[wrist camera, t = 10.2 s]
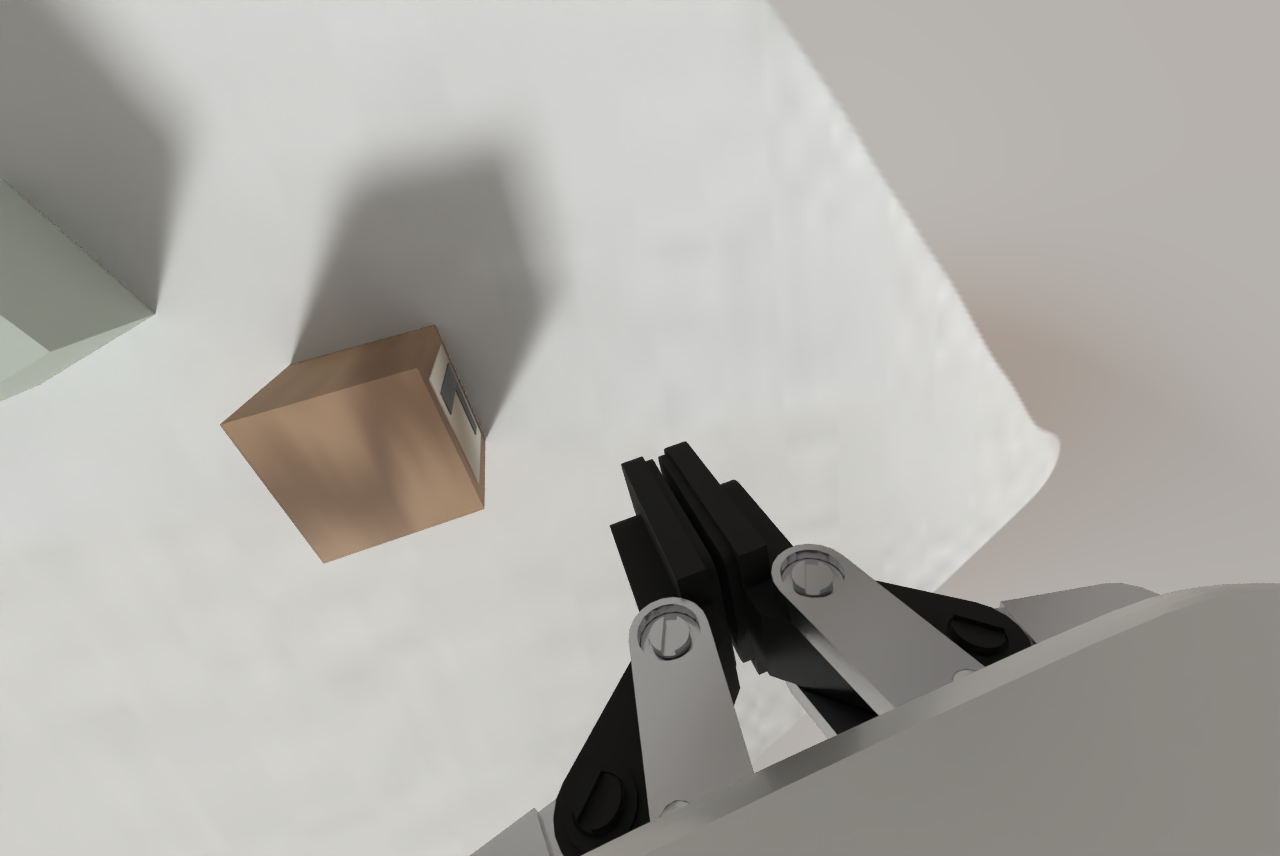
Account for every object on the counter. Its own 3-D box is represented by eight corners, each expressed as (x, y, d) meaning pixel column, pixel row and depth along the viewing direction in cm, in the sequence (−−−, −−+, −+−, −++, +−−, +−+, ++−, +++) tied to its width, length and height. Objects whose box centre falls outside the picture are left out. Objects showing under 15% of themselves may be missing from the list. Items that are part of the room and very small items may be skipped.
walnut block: (437, 323, 20) (290, 364, 20) (420, 366, 15) (219, 425, 14) (487, 439, 23) (361, 478, 22) (486, 508, 18) (323, 563, 17)
